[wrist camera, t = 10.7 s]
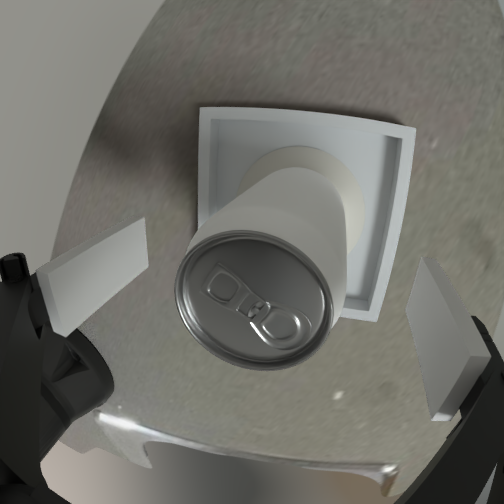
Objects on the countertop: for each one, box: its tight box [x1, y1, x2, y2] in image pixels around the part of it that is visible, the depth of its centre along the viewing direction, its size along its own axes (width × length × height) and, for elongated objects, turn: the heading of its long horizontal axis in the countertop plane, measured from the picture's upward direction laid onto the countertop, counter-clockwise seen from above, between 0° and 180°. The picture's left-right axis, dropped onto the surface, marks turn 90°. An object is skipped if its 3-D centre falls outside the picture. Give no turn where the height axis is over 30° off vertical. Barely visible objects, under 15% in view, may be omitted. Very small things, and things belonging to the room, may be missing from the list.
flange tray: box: [198, 107, 416, 322], centre depth 21 cm, size 14×14×2 cm
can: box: [174, 167, 347, 371], centre depth 16 cm, size 6×6×12 cm
